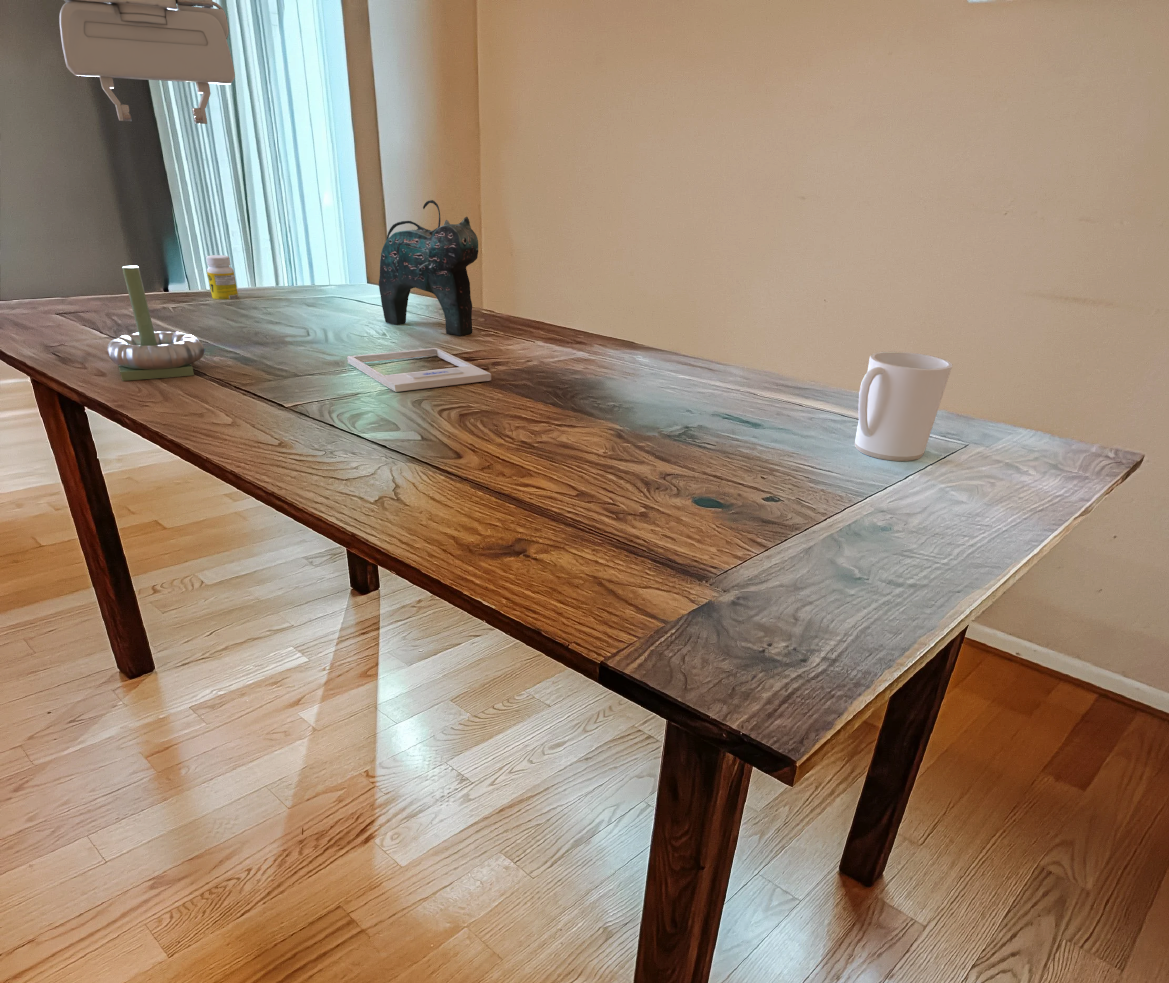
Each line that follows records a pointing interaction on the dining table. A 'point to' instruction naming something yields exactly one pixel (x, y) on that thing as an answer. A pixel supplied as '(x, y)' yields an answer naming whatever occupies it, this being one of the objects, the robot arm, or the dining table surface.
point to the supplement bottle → (221, 277)
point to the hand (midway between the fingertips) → (163, 122)
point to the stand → (145, 330)
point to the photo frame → (421, 378)
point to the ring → (156, 351)
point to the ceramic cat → (429, 271)
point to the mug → (899, 404)
